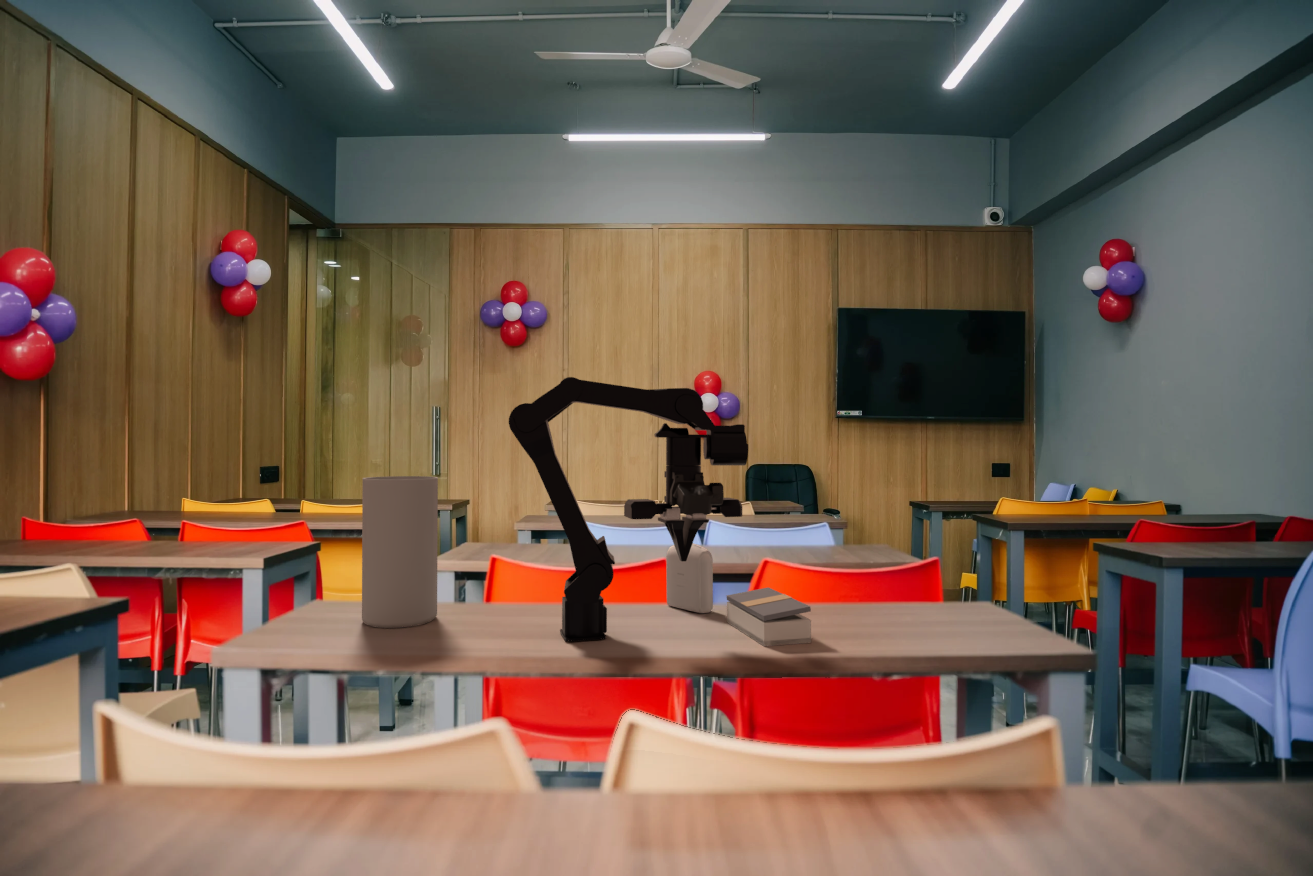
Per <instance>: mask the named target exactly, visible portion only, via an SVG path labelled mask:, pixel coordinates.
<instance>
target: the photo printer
mask: <svg viewBox="0 0 1313 876" xmlns="http://www.w3.org/2000/svg"><path fill="white" fill-rule="evenodd" d="M665 559H666V560H665V562H666V566H665V567H666V577H665V578H666V605H667V606H669V607H674V608H678V609H682V610H685V611H690V612H694V613H697V614H708V613H711V612H712V611H713V608H714V591H713V589H714V580H713V579H714V576H713V575H714V574H713V573H714V571H713V568H714V567H713V565H714V564H713V561H714V560H713V555H712V552H711V551H710V550H708V549H707V548H706V547H704V546H702V545H699V544H697V543H694V542H693V543H692V546H691V549H690V552H689V555H688V558H687V561H680V559H679V557H678V554H677V551H676V548H675V546H674V544H673V545H671V546H669V548H668V550H667V552H666V557H665Z"/></svg>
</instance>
